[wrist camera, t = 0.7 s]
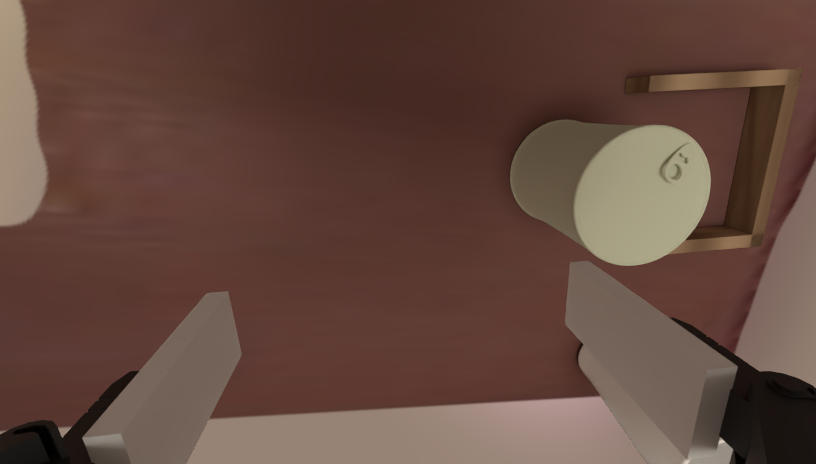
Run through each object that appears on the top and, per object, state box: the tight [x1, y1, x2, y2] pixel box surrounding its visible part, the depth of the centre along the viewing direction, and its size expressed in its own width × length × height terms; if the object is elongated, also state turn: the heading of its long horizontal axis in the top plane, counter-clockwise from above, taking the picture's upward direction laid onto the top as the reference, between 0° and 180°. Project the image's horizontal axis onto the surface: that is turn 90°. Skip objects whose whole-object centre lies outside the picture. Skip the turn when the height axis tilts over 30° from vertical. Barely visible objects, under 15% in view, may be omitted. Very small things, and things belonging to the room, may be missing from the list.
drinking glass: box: [578, 344, 733, 464], centre depth 35 cm, size 7×7×15 cm
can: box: [510, 120, 711, 266], centre depth 30 cm, size 9×9×12 cm
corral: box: [625, 69, 802, 254], centre depth 35 cm, size 13×15×3 cm
